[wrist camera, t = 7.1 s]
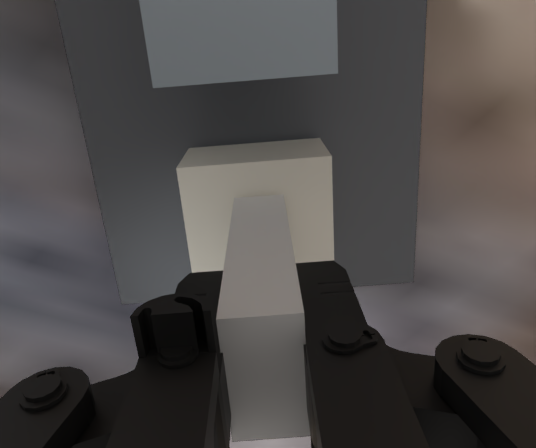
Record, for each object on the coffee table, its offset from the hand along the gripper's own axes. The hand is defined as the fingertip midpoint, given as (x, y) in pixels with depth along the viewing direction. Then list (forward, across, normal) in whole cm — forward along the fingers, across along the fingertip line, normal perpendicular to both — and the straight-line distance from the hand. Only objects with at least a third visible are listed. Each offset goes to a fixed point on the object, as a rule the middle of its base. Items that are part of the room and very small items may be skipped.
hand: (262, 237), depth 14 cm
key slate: (+3, 0, +7) cm, 8 cm away
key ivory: (+5, 0, 0) cm, 5 cm away
